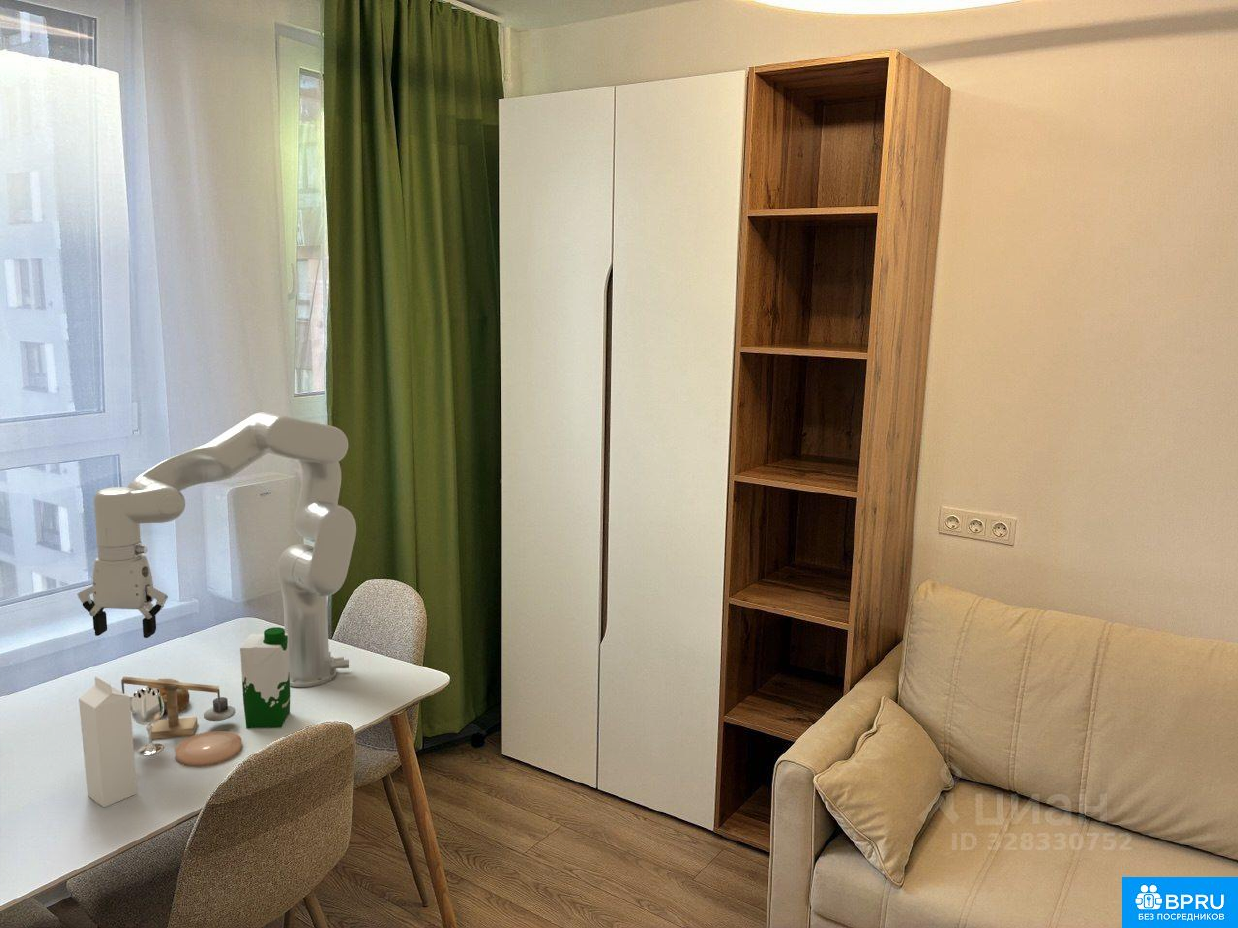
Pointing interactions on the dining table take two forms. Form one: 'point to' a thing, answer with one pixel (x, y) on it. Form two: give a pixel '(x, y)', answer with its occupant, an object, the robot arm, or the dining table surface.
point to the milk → (108, 744)
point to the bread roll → (181, 697)
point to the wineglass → (148, 714)
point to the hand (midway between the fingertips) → (125, 634)
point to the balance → (174, 724)
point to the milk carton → (266, 678)
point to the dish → (208, 748)
